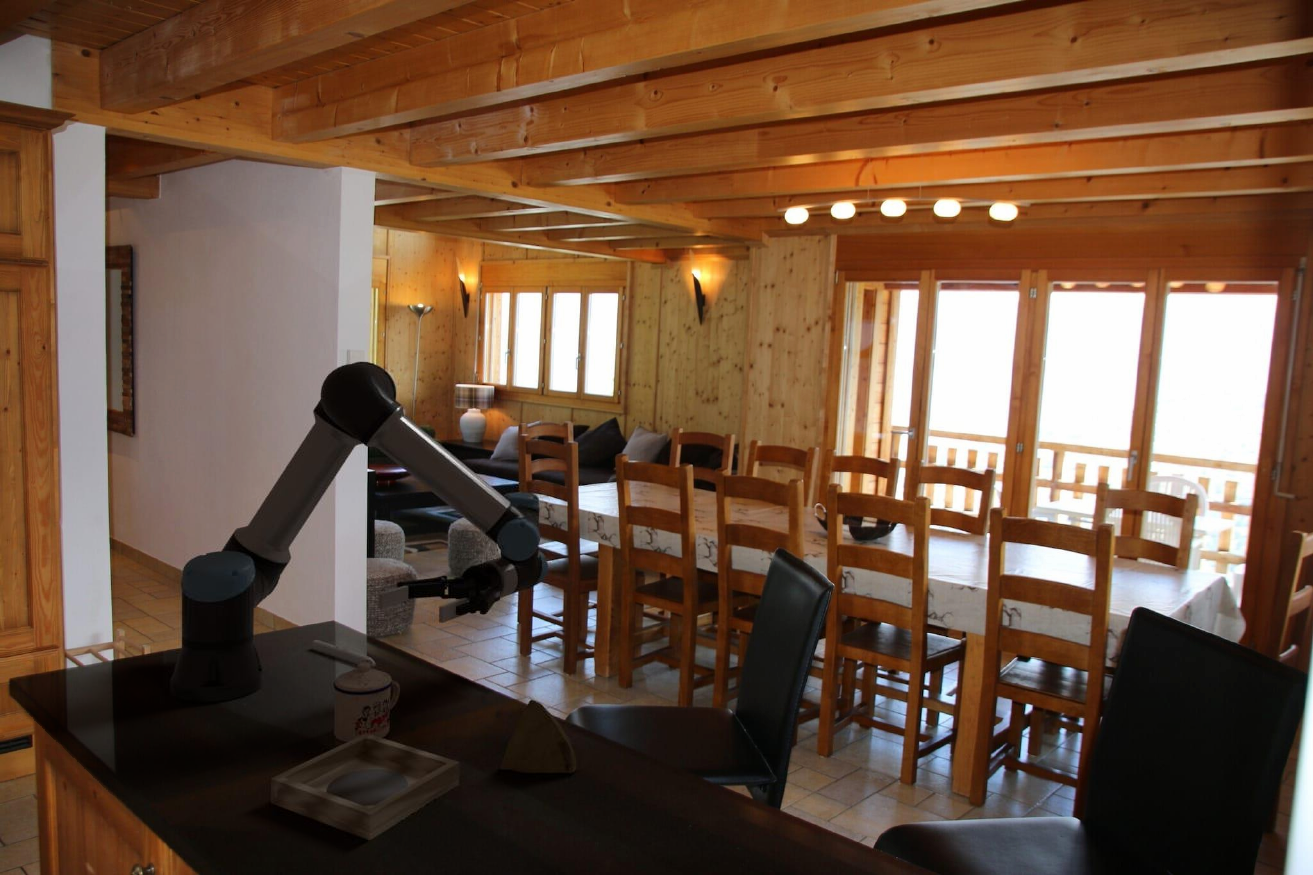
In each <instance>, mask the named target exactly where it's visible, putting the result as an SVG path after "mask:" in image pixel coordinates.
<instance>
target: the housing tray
mask: <svg viewBox="0 0 1313 875" xmlns="http://www.w3.org/2000/svg"><path fill="white" fill-rule="evenodd" d="M459 781H460V761H456V760H454V759H451V758H448V757H443V756H441V755H438V754H434V753H431V752H428V751H425V750H422V749H418V748H415V747H412V746H409V745H405V744H402V743H399V742H396V741H393V740H389V739H386V738H384V737H383V738H380V737H377V736H374V735H370V734H367V733H366V734H364V735H361V736H359V737H357V738H355V739H353V740H351V741H349V742H347V743H346V742H344V743H343V744H341V745H339V746H337V747H335V748H332V749H330V750H328V751H326V752H323V753H322V754H320V755H318V756H315V757H313V758H311V759H309V760H307V761H305V762H303V763H301V764H299V765H297V766H295V767H294V766H293V767H292V768H291V769H288V770H286V771H284V772H281V773H280V774H278V775H276V776H274V777H271V778H270V804H272V805H276V806H278V807H281V808H283V809H286V810H288V811H291V812H293V813H295V814H298V815H301V816H304V817H307V818H308V819H309V818H310V819H313V820H315V821H318V822H320V823H322V824H325V825H329V826H330V827H334V828H335V829H338V830H341V831H344V832H346V833H350V834H352V835H355V836H357V837H360V838H362V839H366V840H368V841H372V840H373V839H375V838H376V837H378V836H379V835H381V834H384V832H386V831H388V830H389V829H391V828H392V827H393V826H395V825H397V824H398V822H399V823H400V822H401V820H402V821H403V820H405V819H406V817H407V818H408V817H410V816H411V814H412V813H413V814H414V812H415V813H416V812H418V811H420V810H421V809H423V808H424V807H426V806H427V805H426V804H428V803H429V804H431V803H432V802H434V801H435V800H434V799H436V800H437V799H439V798H440V797H442V796H444V795H445V794H447V793H448V792H450V791H451V790H452V791H453V789H455V788H456V787H459V785H460V782H459ZM433 800H434V801H433ZM431 801H432V802H431ZM430 802H431V803H430ZM429 804H428V805H429ZM425 805H426V806H425ZM422 807H423V808H422ZM420 808H421V809H420ZM419 809H420V810H419ZM417 810H418V811H417ZM413 814H412V815H413ZM409 815H410V816H409Z"/></svg>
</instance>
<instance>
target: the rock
mask: <svg viewBox="0 0 1313 875" xmlns="http://www.w3.org/2000/svg"><path fill="white" fill-rule="evenodd" d="M571 742H572V741H571V739H570V738H569V736H568V735H567V734H566V732H565V729H564V728H563V727H562V726H561V724H560V722H559V721H558V719H556V718H555V717H554V716H553V715H552V713H550V712H549V711H548V709H547V708H546V707H545V706H544V705H543V704H542V703H541V702H538V701H536V700H534V699H530V700H529V701H528V703H527V706H526V707H525V709H524V710H523V712H522V714H521V716H520V717H519V720H518V721H517V724H516V726H515V728H514V731H513V734H511V738H510V739H509V741H508V743H507V747H506V750H505V753H504V756H503V758H502V763H501V765H500V770H502V771H504V770H509V771H515V772H518V773H522V774H524V773H525V774H527V773H528V774H555V773H559V774H561V773H562V774H573V773H574V772H576V770H577V769H578V765H577V764H578V762H577V756H576V752H575V751H574V749H573V745H572V743H571Z"/></svg>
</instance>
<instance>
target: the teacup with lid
mask: <svg viewBox="0 0 1313 875" xmlns="http://www.w3.org/2000/svg"><path fill="white" fill-rule="evenodd" d="M356 665H357V664H356ZM391 687H392V689H391ZM333 689H334V712H333V713H334V714H333V715H334V716H333V717H334V718H333V721H334V722H333V734H334V737H335V738H336V739H337V740H339V741H341V742H343V743H346V742H349V741H351V740H353V739H355V738H357V737H359V736H361V735H364V734H366V733H367V734H370V735H374V736H377V737H380V738H383V739H384V738H385V737H386V736H387V735H388V734H389V732H390V724H391V723H390V722H391V710H392V708H393V707H394V706H395V705H396V704H397V702H398V700H399V697H400V691H401V687H400V684H399V682H397V681H395V680H393V679H392V677H391V675H390V674H389V673H387V672H385V671H382V670H379V669H375V668H373V667H370V664H369V663H366V662H363V663H359V664H358V665H357V666H356V668H354V669H352V670H350V671H347V672H343V673H342V674H339V675H338V676H336V678H335V680H334V681H333ZM391 690H392V694H391Z"/></svg>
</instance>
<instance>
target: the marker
mask: <svg viewBox="0 0 1313 875" xmlns="http://www.w3.org/2000/svg"><path fill="white" fill-rule="evenodd" d="M310 648H311V650H313V651H315V652H319V653H321V654H324V655H327V656H331V657H334V658H336V659H339V660H342V661H346V662H347V663H351V664H354V665H358V664H359V663H363V662H366V663H369V664H370V668H373V667H375V666H376V662H375V661H374V659H373V658H372V657H370V656H367V655H363V654H361V653H358V652H355V651H352V650H349V649H346V648H345V647H344V648H342V647H340V646H339V645H337V646H336V645H333V644H331V643H327V642H324V641H323V640H322V641H321V640H318V639H314V640H313V641H312V642H311V645H310Z"/></svg>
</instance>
